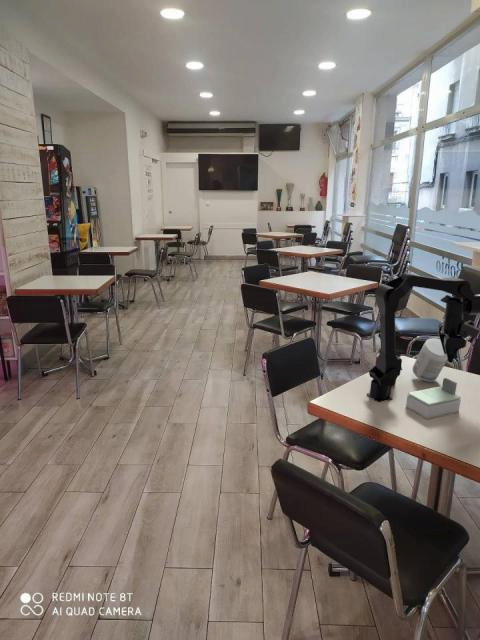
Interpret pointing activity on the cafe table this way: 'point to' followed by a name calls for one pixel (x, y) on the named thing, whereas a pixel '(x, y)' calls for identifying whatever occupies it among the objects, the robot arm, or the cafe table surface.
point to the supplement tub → (430, 360)
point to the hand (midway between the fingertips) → (447, 357)
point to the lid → (437, 393)
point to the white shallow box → (432, 408)
